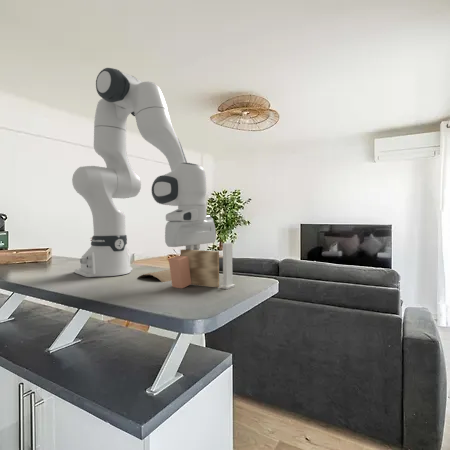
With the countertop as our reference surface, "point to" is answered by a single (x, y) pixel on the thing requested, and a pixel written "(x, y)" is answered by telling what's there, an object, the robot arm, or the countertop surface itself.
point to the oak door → (203, 267)
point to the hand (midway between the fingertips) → (192, 259)
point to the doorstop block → (180, 271)
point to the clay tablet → (160, 275)
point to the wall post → (227, 266)
